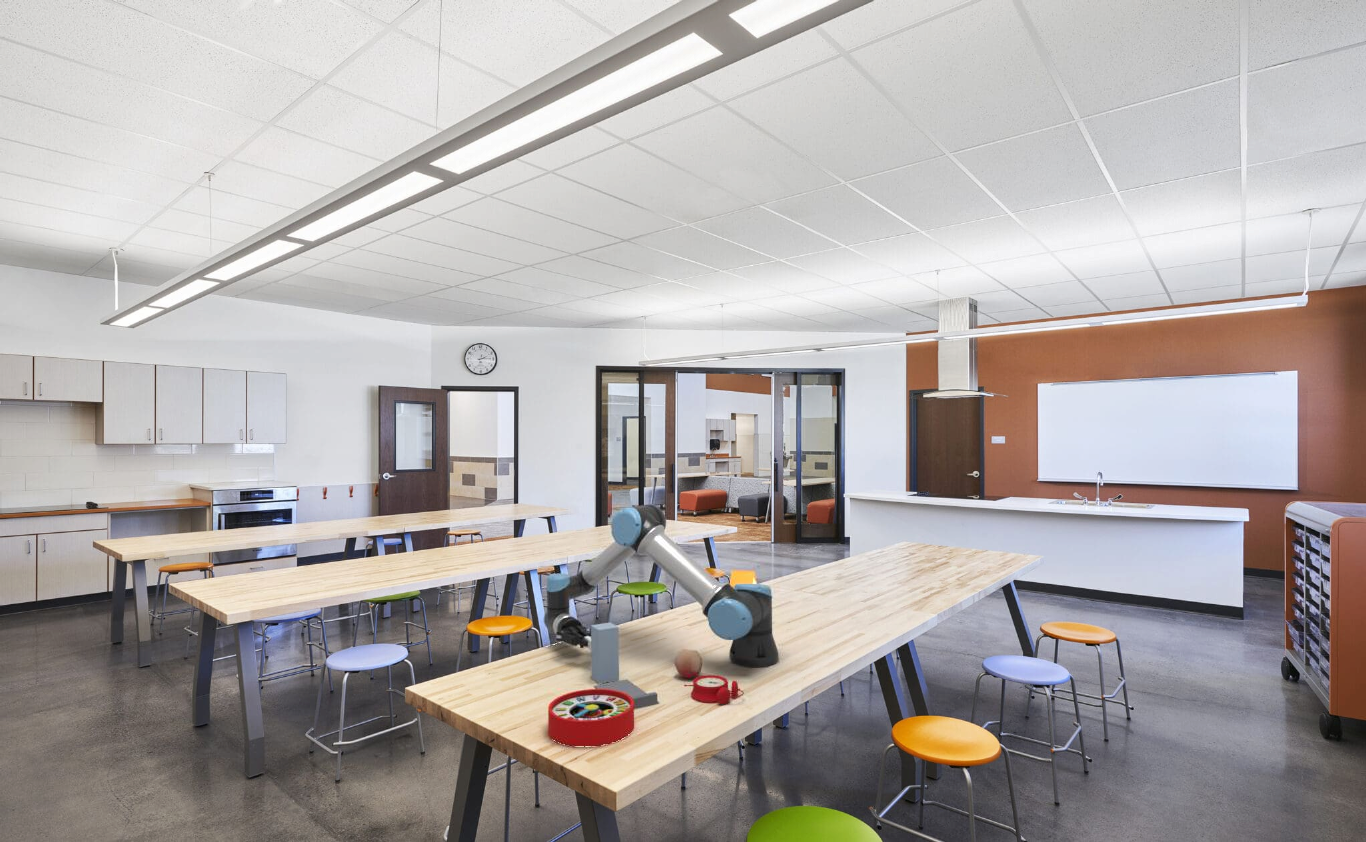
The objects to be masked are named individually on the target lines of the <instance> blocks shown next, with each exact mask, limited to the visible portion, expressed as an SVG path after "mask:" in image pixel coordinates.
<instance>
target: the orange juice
mask: <svg viewBox="0 0 1366 842" xmlns="http://www.w3.org/2000/svg"><path fill="white" fill-rule="evenodd" d="M739 583H749V584H758V582H757V578H756V573H755V571H754V570H739V569H738V570H737V569H736V570H735V569H733V570H731V574H730V581H729V584H730V585H731V586H732V587H733V588H734V585H735V584H739Z"/></svg>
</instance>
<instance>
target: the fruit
mask: <svg viewBox="0 0 1366 842" xmlns="http://www.w3.org/2000/svg"><path fill="white" fill-rule="evenodd" d="M674 665H675V669H676V671H677V673H678V674H679V675H680V677H682V678H685V679H691V680H692V679H695V678H697V677H698V675H699V674H700V673H701V671H702V668H703V657H702V656H701V654H700V653H699V652H698V650H696V649H687V648H684V649H682V650H680V651H679V652H678V653H676V656H675V659H674Z"/></svg>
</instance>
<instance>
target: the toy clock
mask: <svg viewBox="0 0 1366 842" xmlns="http://www.w3.org/2000/svg"><path fill="white" fill-rule="evenodd" d="M547 708H548V709H547V712H548V713H547V715H548V716H547V717H548V720H547V721H548V724H547V725H548V727H547V729H548V732H547V733H548V736H550V737H549V738H550V739H551V738H552V739H553V740H555V741H556V742H559V743H561V744H565V745H569V746H584V747H585V746H599V747H602V746H601V745H603V744H609V745H611V744H610V743H612V742H616V741H618V740H621V739H622V738H624V737H626V736H628V734H630V733H631V732H632V731H633V732H634V730H633V729H635V709H634V700H633V698H632V697H631V696H629V695H628V694H626V693H623V692H620V691H616V690H609V689H596V688H589V689H582V690H576V691H572V692H567V693H565V694H562V695H559V696H558V697H556V698H554V699H553V700H552V701H550V703H549V704H548V707H547ZM633 732H632V733H633ZM632 733H631V734H632ZM631 734H630V735H631ZM628 737H629V736H628ZM626 738H627V737H626ZM552 739H551V740H552ZM624 739H625V738H624ZM553 740H552V741H553ZM555 741H554V742H555ZM621 741H622V740H621ZM556 742H555V743H556ZM618 742H619V741H618ZM559 743H558V744H559ZM616 743H617V742H616ZM561 744H560V745H561ZM565 745H564V746H565ZM569 746H568V747H569Z"/></svg>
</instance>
